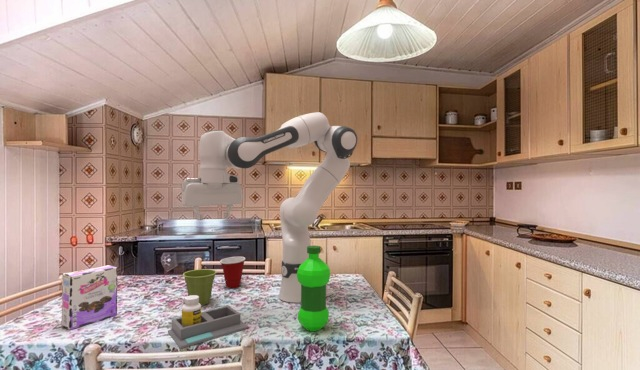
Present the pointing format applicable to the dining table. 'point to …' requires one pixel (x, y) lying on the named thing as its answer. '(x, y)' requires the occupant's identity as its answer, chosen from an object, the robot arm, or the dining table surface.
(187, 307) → the supplement bottle
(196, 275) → the plant pot
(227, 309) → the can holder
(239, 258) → the plastic cup
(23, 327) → the dining table surface
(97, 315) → the candy box
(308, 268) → the plastic bottle
